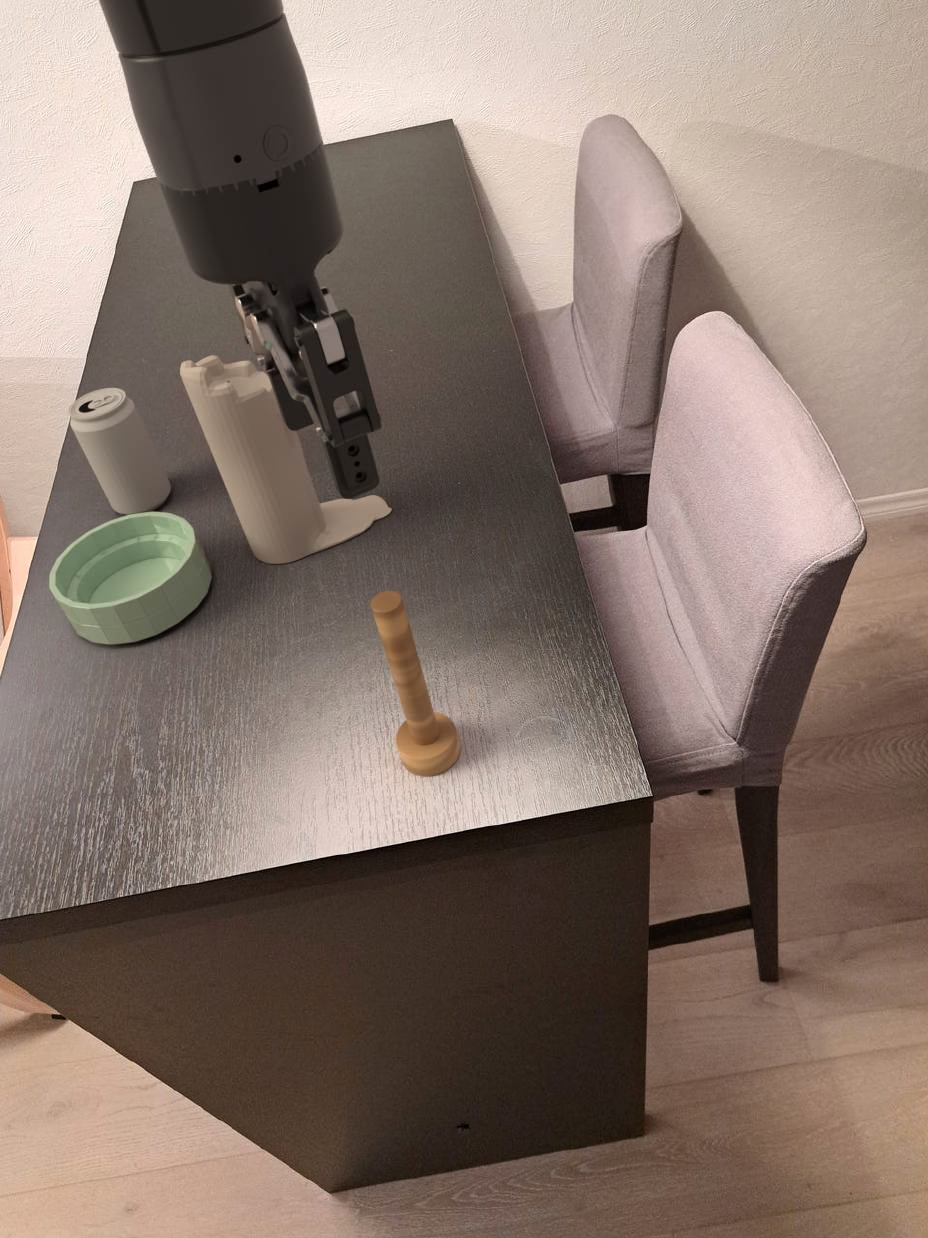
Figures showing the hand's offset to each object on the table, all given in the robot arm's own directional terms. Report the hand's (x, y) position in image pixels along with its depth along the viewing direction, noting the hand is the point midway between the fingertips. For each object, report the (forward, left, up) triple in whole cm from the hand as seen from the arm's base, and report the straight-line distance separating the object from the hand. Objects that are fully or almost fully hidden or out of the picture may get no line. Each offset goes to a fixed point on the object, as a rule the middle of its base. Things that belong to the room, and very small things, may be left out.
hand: (331, 455), depth 53 cm
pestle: (-1, -1, -25) cm, 25 cm away
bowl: (+11, +32, -25) cm, 42 cm away
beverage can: (+25, +41, -25) cm, 54 cm away
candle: (+23, +19, -25) cm, 39 cm away
